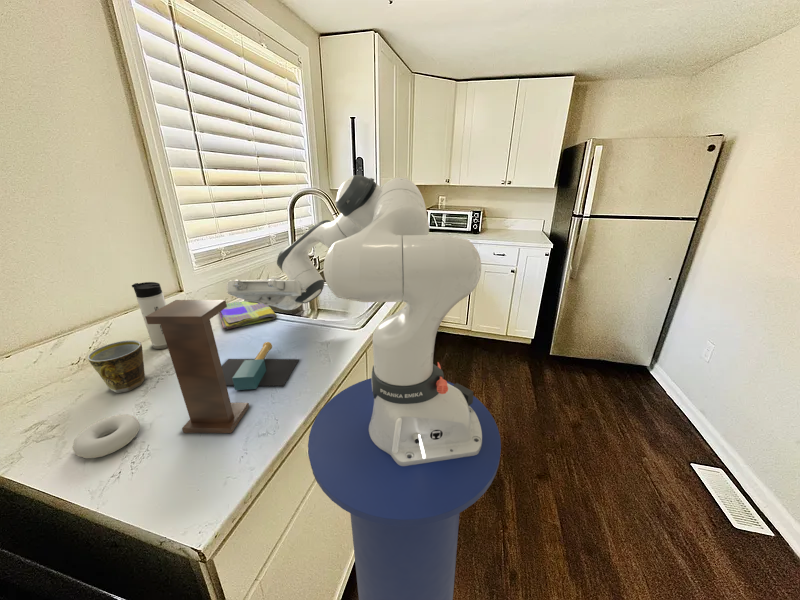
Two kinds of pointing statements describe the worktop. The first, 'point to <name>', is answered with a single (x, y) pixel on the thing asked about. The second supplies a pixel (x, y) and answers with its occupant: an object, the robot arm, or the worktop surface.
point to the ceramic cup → (120, 365)
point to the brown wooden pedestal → (198, 364)
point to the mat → (273, 376)
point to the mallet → (251, 370)
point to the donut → (96, 446)
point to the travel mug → (151, 309)
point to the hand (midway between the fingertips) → (252, 282)
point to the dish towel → (245, 314)
